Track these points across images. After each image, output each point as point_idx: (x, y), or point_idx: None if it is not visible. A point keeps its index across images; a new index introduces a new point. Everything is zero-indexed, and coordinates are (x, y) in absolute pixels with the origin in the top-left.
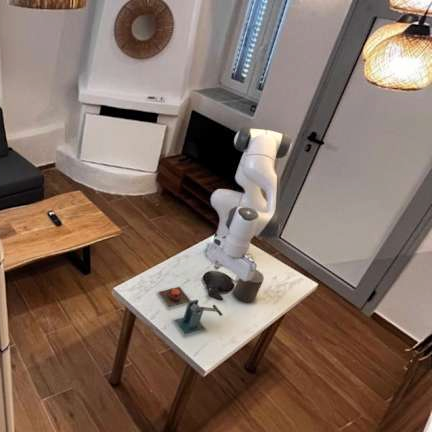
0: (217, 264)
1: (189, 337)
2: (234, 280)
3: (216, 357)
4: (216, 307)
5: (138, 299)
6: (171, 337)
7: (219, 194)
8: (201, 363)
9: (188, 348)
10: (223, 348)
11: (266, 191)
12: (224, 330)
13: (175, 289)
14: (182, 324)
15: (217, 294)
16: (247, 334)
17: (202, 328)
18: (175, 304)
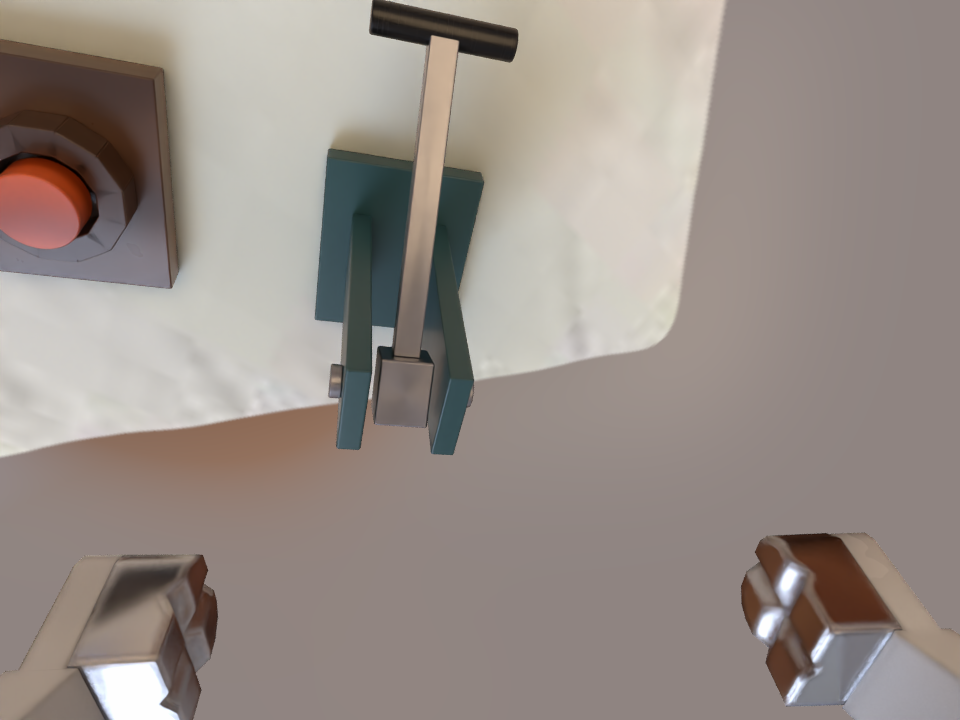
0: (82, 702)
1: (471, 300)
2: (856, 695)
3: (674, 253)
4: (417, 26)
5: (38, 399)
6: None
7: None
8: (638, 349)
9: (528, 351)
10: (667, 162)
11: None
12: (572, 10)
13: (2, 197)
14: (372, 299)
15: None
16: None
17: (472, 198)
18: (168, 231)
